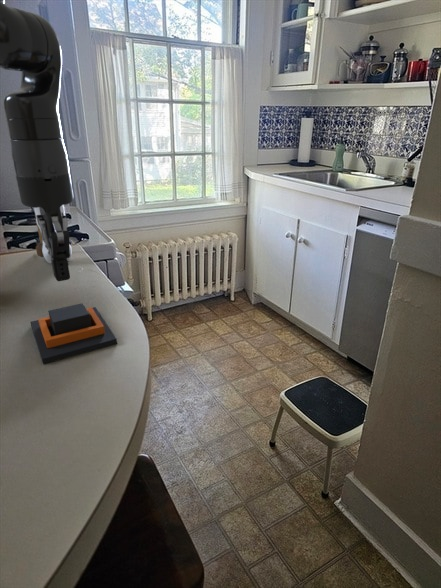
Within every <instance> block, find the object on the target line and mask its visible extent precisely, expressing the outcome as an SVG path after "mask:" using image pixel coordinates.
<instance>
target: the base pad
mask: <svg viewBox="0 0 441 588" xmlns="http://www.w3.org/2000/svg"><path fill="white" fill-rule="evenodd" d="M85 308H86V309H87V311H88V312H89V314H90V320H91V326H92V327H88V328H84V329H80V330H76V331H72V332H68V333H64V334H60V335H56V336H55V335H54V332H53V330H52V327H51V322H50V317H49V316H46V317H42V318H38V319H37V320H31V321H30V325H31V326H30V327H31V330H32V332H33V336H34V339H35V343H36V345H37V350H38V352H39V356H40V359H41V362H42V365H45V364H49V363H54V362H57V361H59V360H63V359H67V358H71V357H74V356H78V355H81V354H85V353H88V352H92V351H96V350H99V349H103V348H107V347H111V346H115V345H118V338H117V337H116V336H115V334H114V333H113V331H112V330H111V328H110V326H109V325H108V324H107V322H106V320H105V319H104V318H103V316H102V314H101V313H100V312H99V310H98V308H97V306H94V307H93V306H91V307H85Z"/></svg>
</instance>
